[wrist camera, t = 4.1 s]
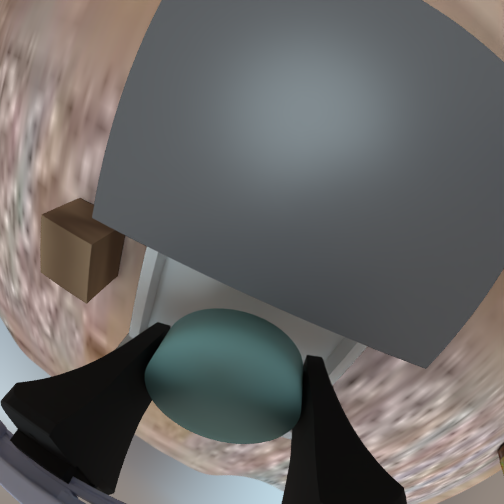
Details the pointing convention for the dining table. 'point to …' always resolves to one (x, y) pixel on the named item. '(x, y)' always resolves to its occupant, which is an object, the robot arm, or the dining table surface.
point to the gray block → (318, 161)
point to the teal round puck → (227, 377)
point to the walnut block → (79, 249)
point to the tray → (223, 296)
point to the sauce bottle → (501, 457)
